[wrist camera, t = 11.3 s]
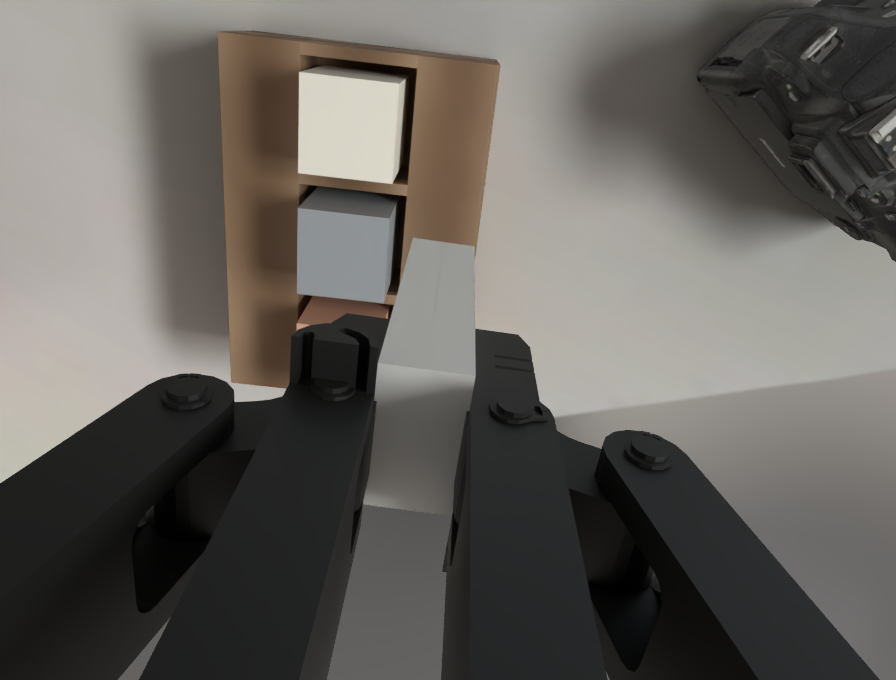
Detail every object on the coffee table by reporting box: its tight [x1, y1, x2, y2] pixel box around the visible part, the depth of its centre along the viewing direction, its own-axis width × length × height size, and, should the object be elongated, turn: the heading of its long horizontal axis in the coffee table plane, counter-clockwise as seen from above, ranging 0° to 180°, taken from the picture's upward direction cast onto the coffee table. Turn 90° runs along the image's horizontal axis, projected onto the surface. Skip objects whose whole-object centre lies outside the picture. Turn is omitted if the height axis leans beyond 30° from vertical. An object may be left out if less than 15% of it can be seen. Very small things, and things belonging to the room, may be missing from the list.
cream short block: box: [298, 65, 410, 184], centre depth 29 cm, size 4×4×5 cm
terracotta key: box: [297, 296, 392, 330], centre depth 34 cm, size 4×4×5 cm
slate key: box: [297, 186, 401, 303], centre depth 32 cm, size 4×4×5 cm
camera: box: [697, 0, 896, 261], centre depth 29 cm, size 13×10×10 cm
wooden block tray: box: [218, 31, 500, 388], centre depth 34 cm, size 12×17×5 cm
